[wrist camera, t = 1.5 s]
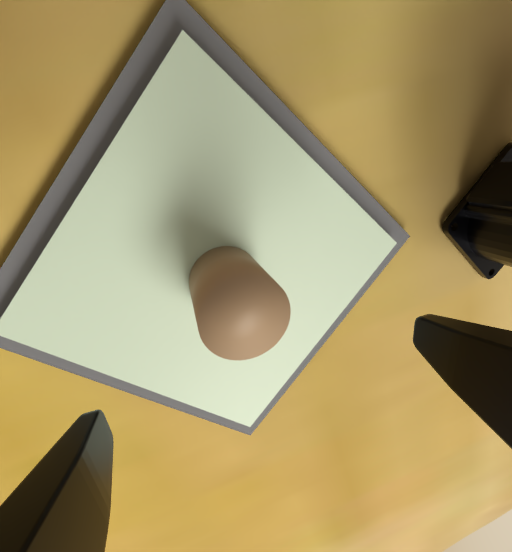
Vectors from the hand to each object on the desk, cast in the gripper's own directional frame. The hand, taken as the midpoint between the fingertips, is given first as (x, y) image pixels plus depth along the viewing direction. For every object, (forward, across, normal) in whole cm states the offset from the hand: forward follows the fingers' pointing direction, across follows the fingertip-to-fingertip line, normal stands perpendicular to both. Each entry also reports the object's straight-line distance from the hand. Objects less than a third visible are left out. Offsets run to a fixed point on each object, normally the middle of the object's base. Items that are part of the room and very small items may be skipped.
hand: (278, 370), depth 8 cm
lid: (+8, 0, 0) cm, 8 cm away
